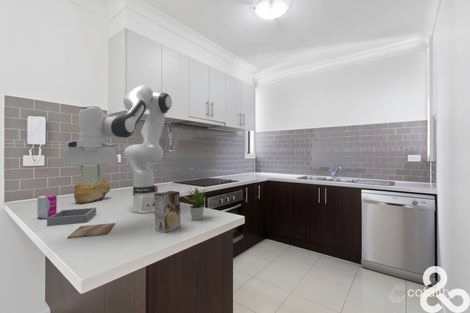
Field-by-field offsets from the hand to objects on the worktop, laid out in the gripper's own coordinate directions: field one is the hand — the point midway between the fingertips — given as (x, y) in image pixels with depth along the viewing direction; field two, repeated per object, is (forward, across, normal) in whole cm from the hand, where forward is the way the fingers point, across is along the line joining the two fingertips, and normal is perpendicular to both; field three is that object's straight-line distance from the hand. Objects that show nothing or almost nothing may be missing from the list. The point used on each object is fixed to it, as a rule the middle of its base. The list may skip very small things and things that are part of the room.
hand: (92, 175), depth 96 cm
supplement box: (+24, +30, -32) cm, 50 cm away
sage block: (+3, 0, 0) cm, 3 cm away
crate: (+24, +15, -23) cm, 36 cm away
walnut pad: (+24, 0, 0) cm, 24 cm away
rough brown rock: (+24, +22, -74) cm, 81 cm away
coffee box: (+24, -31, +8) cm, 40 cm away
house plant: (+24, -46, -4) cm, 52 cm away
